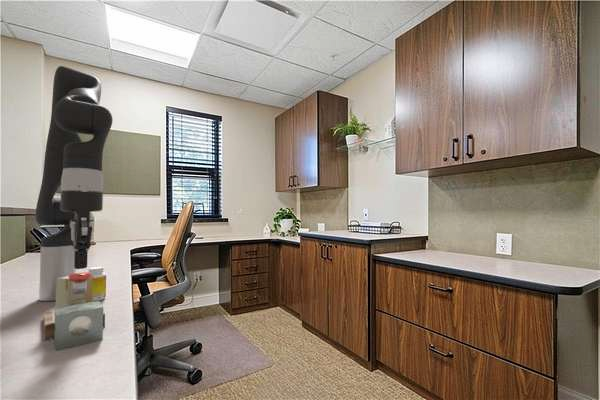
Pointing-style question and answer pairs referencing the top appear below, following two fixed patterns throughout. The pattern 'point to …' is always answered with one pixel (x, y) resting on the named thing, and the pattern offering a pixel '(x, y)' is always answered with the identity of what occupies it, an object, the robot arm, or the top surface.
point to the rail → (50, 325)
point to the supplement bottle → (98, 283)
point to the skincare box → (71, 293)
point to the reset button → (79, 282)
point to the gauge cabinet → (78, 325)
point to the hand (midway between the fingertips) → (80, 268)
